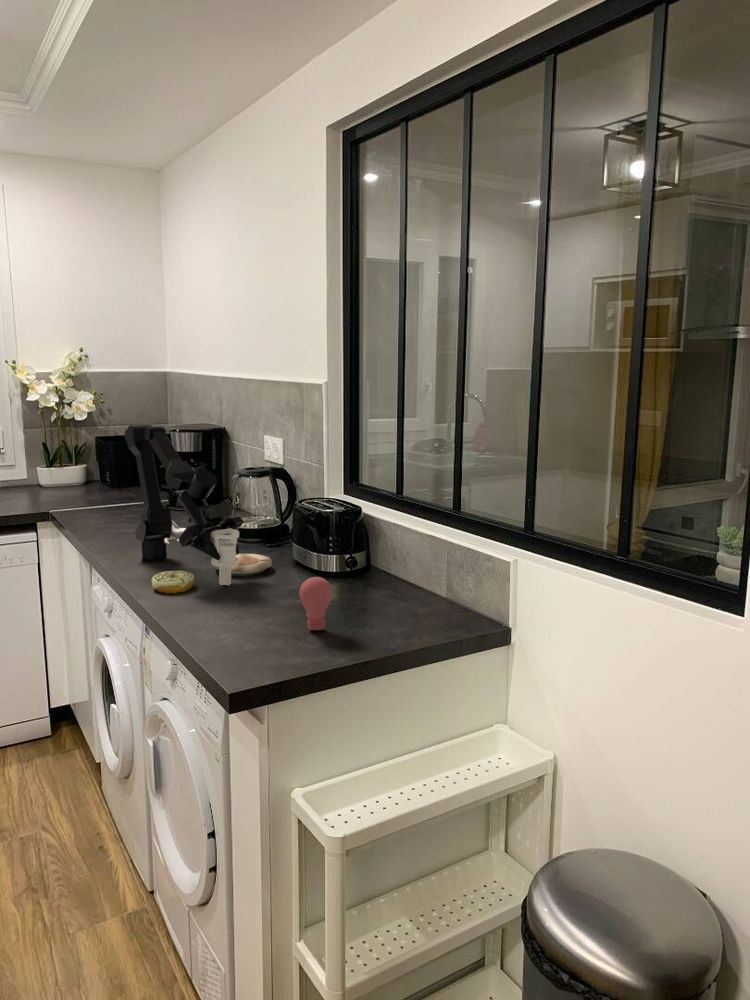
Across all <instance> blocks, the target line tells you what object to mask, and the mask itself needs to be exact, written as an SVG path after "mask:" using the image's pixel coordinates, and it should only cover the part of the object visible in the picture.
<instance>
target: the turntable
mask: <svg viewBox="0 0 750 1000" xmlns="http://www.w3.org/2000/svg"><path fill="white" fill-rule="evenodd" d="M236 557H237V558H239V564H238V565H236V566H232V567H231V572H254V571H260V570H264V571H265V570H267V569H268V568H270V567H271V566H272V564H273V563H272V559H271V558H270V557H269V556H267V555H262V554H258V553H257V554H256V553H239V554H238V555H236ZM213 568H215V569H217V570H219V567H217V566H213Z"/></svg>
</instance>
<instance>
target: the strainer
mask: <svg viewBox="0 0 750 1000" xmlns="http://www.w3.org/2000/svg"><path fill="white" fill-rule="evenodd" d="M221 534H231V535H221ZM239 537H240V531H239V530H235V529H232V528H229V529H225V530H215V531H212V533H211V534H210V538H211V539H212V538H213V539H214V540H213V544H214V546H215V548H216V549H217V551H218V553H219V555H220V557H221V558H220V560H216V559H215V558H213V557H211V560H210V561H211V563H210V564H211V566H213V567H214V566H217V567H219V569H218V570H219V571H218V575H219V576H218V583H219V584H220V585H219V584H218V585H219V586H222V585H227V586H231V585H232V575H231V567H232V566H236V565H238V564H239V558H237V557H236V543H237V544H238V538H239ZM220 539H224V540H220ZM227 539H230V540H227ZM230 584H231V585H230Z"/></svg>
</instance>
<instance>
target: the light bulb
mask: <svg viewBox="0 0 750 1000" xmlns="http://www.w3.org/2000/svg"><path fill="white" fill-rule="evenodd" d="M332 588H333V587H332V586H331V584H330V583H329V582H328V581H327V580H326V579H325V578H323V577H321V576H312V577H309V578H307V579H306V580H305V581H303V582H302V584H301V586H300V588H299V600H300V602H301V603H302V606H303V608H304V610H305V611H306V617H307V618H308V619H307V624H308V625H307V628H308V630H311V631H315V630H318V631H321V630H324V629H325V626H326V619H325V616H326V611H327V609H328V607H329V605H330V603H331V601H332V598H333V589H332Z"/></svg>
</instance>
